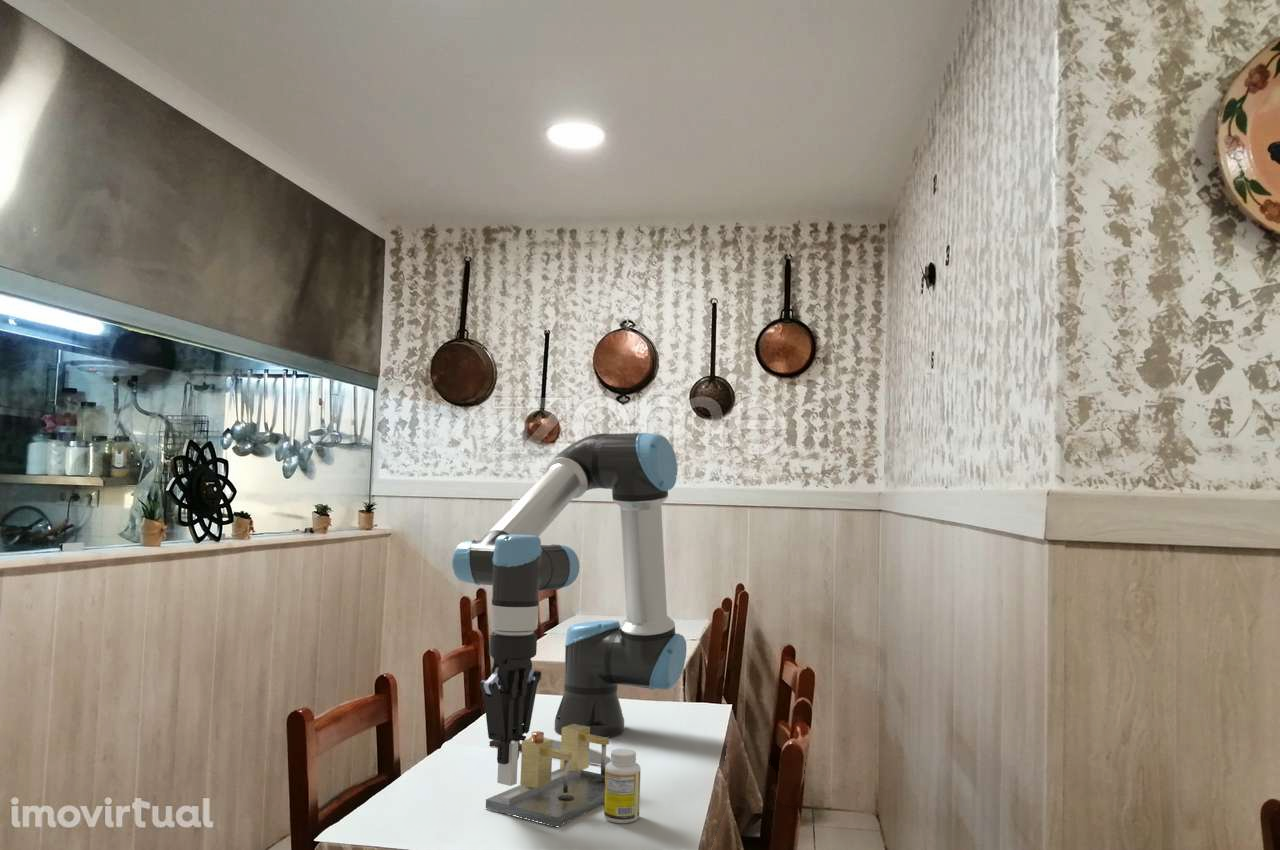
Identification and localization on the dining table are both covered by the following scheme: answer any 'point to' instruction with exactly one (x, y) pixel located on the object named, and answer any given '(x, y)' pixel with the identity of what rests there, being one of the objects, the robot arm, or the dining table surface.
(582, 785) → the bolt plate
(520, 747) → the kitchen knife
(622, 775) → the supplement bottle
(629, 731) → the dining table surface
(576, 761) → the fixed leg
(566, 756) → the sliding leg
